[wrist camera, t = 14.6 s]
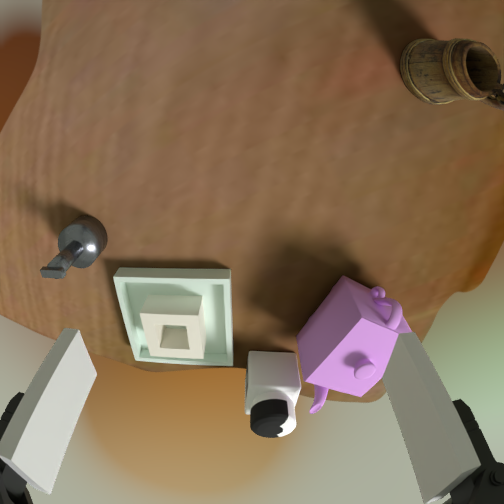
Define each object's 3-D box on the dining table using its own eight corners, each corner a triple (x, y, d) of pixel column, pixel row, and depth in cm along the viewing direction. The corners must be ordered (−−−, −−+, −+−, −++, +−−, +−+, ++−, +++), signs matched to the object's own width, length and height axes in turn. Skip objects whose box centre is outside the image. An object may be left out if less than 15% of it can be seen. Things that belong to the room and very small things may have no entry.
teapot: (350, 254, 42) (380, 309, 31) (400, 282, 44) (435, 336, 33) (276, 352, 50) (281, 414, 39) (325, 369, 52) (339, 427, 41)
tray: (119, 267, 43) (113, 276, 41) (230, 269, 43) (229, 279, 41) (139, 349, 50) (135, 360, 48) (233, 354, 50) (232, 365, 48)
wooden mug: (457, 139, 35) (552, 175, 18) (387, 72, 31) (479, 64, 15) (484, 94, 31) (579, 111, 15) (419, 26, 28) (511, 1, 12)
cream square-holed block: (148, 294, 44) (139, 313, 40) (202, 296, 44) (198, 315, 40) (158, 341, 48) (151, 361, 44) (207, 344, 48) (204, 364, 44)
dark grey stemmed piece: (67, 216, 39) (25, 250, 30) (103, 214, 39) (65, 250, 30) (76, 254, 42) (39, 294, 32) (110, 254, 42) (78, 297, 32)
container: (245, 380, 53) (244, 441, 42) (248, 349, 50) (248, 415, 38) (288, 381, 54) (295, 442, 42) (296, 351, 50) (306, 416, 38)
